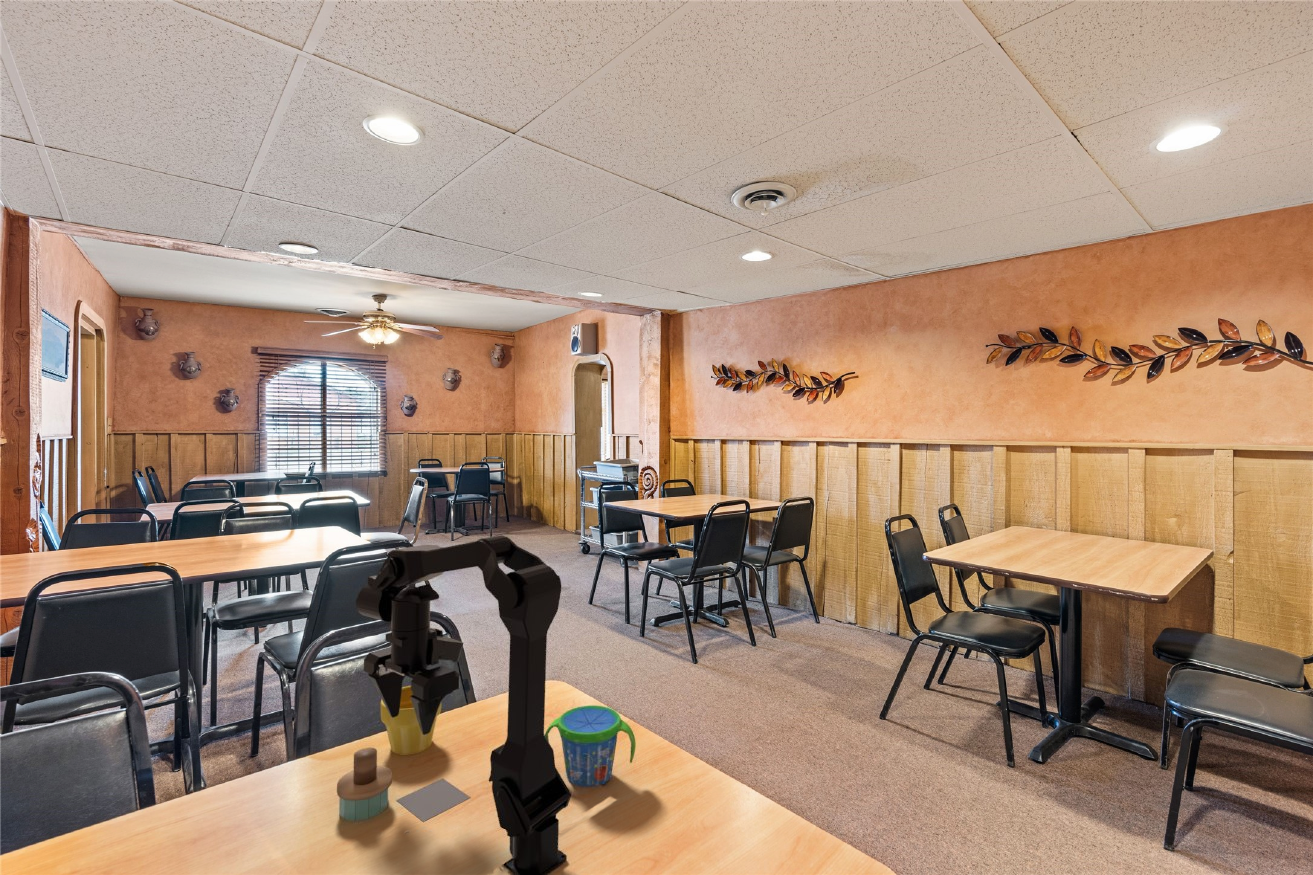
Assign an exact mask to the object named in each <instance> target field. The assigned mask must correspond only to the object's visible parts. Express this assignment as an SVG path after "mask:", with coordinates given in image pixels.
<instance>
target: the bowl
mask: <svg viewBox="0 0 1313 875" xmlns="http://www.w3.org/2000/svg"><path fill="white" fill-rule="evenodd" d="M338 802H339V803H338V804H339V807H338V808H339V809H338V810H339V811H338V812H339V814H338V815H339V816H340V817H341V819H343V820H345V821H350V822H359V821H360V822H361V821H366V820H368V819H371V818H373V817H376V816H378V815H380V814H382V812H383V811H384V810H385V809H386V808H387V807H388V804H389V788H388V789H387V790H386V791H384V792H383V793H381V794H379V795H377V796H375V797H372V798H369V799H365V800H359V801H349V800H344V799H342V798H340V797H339V800H338Z"/></svg>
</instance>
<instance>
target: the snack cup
mask: <svg viewBox="0 0 1313 875" xmlns="http://www.w3.org/2000/svg"><path fill="white" fill-rule="evenodd" d="M553 728H556V729H557V731H558V733H559V735H560V740H561V745H562V746H561V747H562V753H563V759H564V761H563V762H564V767H565V774H566V777H567V779H568V781H569V782H570V783H571V784H573V785H574V786H578V787H579V786H580V787H587V788H588V787H596V786H599V785H600V786H603V785H605V784H606V783H607V782H608V781H609V780H611V778H612V774H613V768H614V761H615V754H616V747H617V740H618V734H619V732H623V733H625V734H627V735H628V737H629V741H630V757H629V758H630V759H629V763H630V764H632V763H633V759H634V757H635V753H636V738H635V737H636V736H635V734H634V731H633V730H632V728H631V726H630V725H629V724H628V723H627V722H626V721H625V720H623V719H621V715H620V714H619V713H618V712H617V711H616V710H615V709H613V708H610V707H607V706H604V705H603V706H602V705H582V706H576V707H573V708H571V709H569V710H567V711H565V712H563V713H562V714H561V715H560V716H559V717H557V718H555V719H553V721H552V722H551V723H550V724H549V726H548V728H547V729H546V731H545V732H544V735H545V737H546V739H547V740H548V742H549V743H550V740H549V734H550V732H551V730H552V729H553Z"/></svg>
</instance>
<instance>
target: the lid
mask: <svg viewBox="0 0 1313 875" xmlns="http://www.w3.org/2000/svg"><path fill="white" fill-rule="evenodd" d="M392 783H393V772H392V770H391V769H390V768H389V767H387V766H384V765H378V750H377V749H376V748H375V747H365V748H361V749H359V750H357V751H355V752H354V754H353V770H351V771H349V772H347V773H345V774H344V775H343V776H342V777H340V778H339V779H338V781H337V783H336V794H337V797H338V798H339V799H340V798H342V799H344V800H349V801H359V800H365V799H369V798H372V797H375V796H377V795H379V794H381V793H383V792H384V791H386V790H387V789H388V790H389V788H390V787H391V785H392Z"/></svg>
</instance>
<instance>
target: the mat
mask: <svg viewBox="0 0 1313 875" xmlns="http://www.w3.org/2000/svg"><path fill="white" fill-rule="evenodd" d="M469 799H471V796H469V795H468V794H466V793H465V792H464V791H462V790H460V789H459V788H458V787H456V786H455V785H454V784H452V783H451V782H449V781H447V780H446V779H445V778H440V779H438V780H437V781H434V782H432V783H429V784H428V785H426V786H423V787H421V788H419V789H417V790H414V791H412V792H411V793H408V794H406V795H404V796H402V797H400V798H397V799H396V801H395V802H398V803H399V804H400V805H401V806H403V808H405V809H406V810H408V812H410V813H411V814H412V815H413V816H415V817H416V818H417V819H419V820H420V821H421V822H422V823H424V822H426V821H428V820H430V819H432V818H434V817H436V816H438V815H440V814H442V813H444V812H446V811H448V810H449V809H451V808H454V807H456V806H458V805H460V804H461V803H463V802H465V801H467V800H469Z"/></svg>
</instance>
